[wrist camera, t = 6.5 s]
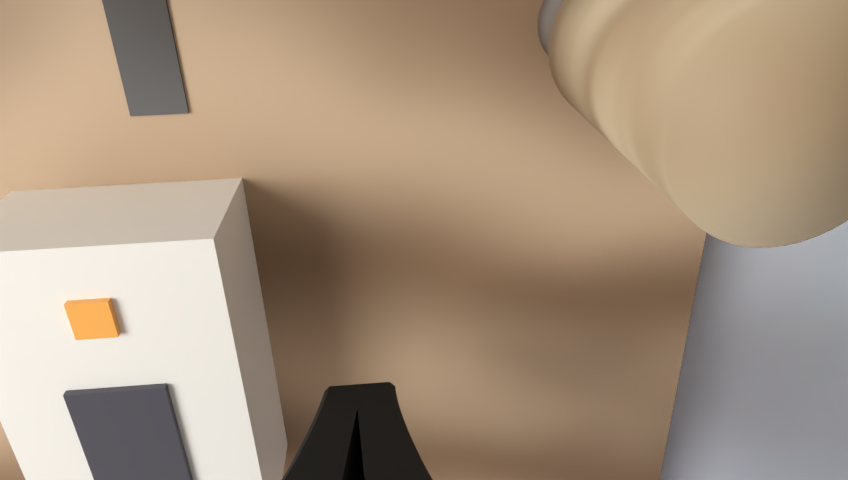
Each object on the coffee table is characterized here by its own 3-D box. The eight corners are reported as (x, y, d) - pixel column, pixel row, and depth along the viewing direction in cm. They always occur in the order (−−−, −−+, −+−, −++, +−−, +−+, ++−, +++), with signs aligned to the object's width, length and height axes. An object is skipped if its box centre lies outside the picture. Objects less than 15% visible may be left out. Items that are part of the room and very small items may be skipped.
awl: (642, 85, 14) (886, 240, 7) (516, 91, 14) (649, 255, 7) (659, -56, 13) (972, -20, 6) (520, -51, 13) (689, -7, 6)
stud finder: (287, 444, 18) (272, 542, 15) (105, 458, 18) (55, 561, 15) (241, 178, 14) (211, 242, 12) (11, 190, 14) (-77, 260, 11)
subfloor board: (633, 494, 22) (650, 532, 21) (68, 542, 21) (46, 586, 20) (748, -203, 13) (793, -217, 12) (-234, -178, 12) (-313, -190, 11)
